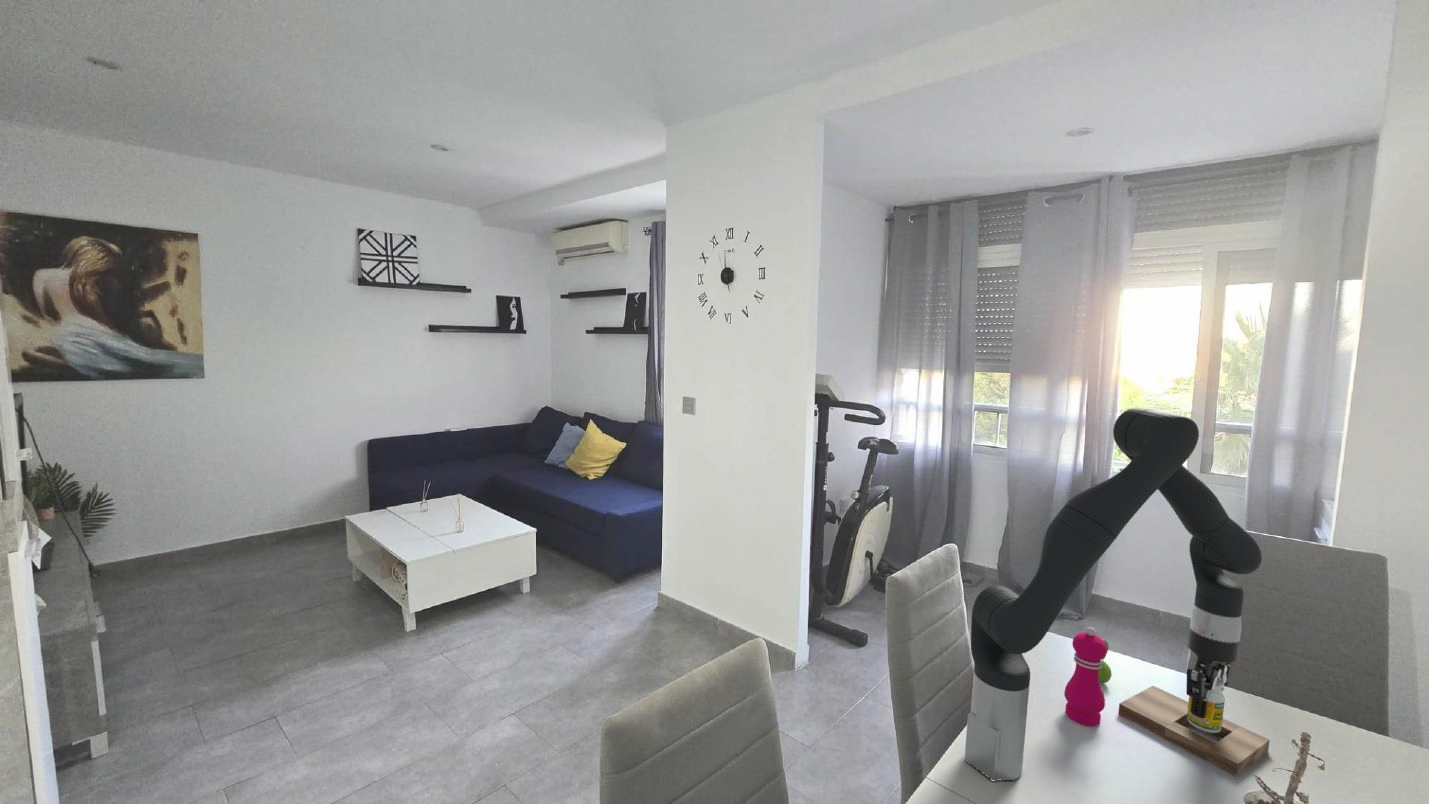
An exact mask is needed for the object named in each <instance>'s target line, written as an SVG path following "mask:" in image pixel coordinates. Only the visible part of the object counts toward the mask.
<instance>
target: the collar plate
mask: <svg viewBox="0 0 1429 804" xmlns="http://www.w3.org/2000/svg"><path fill="white" fill-rule="evenodd" d="M1188 703H1189V701H1187V700H1185V699H1183V698H1180V697H1178V696H1177V695H1174V694H1173V693H1170V692H1167V691H1165V690H1163V689H1161V688H1159V687H1157V686H1155V685H1152V686H1150V687H1147V688H1145V689H1144V690H1142V691H1140V692H1138V693H1137V694H1135V695H1133V696H1131V697H1129V698H1126V699H1125V700H1123V701H1122V702H1121V701H1120V703H1119V704H1118V715H1119V716H1121V717H1123V718H1124V719H1126V720H1128V721H1130V722H1132V723H1135V724H1136V725H1137V726H1140V727H1142V728H1143V729H1145V730H1148V731H1149V732H1150V733H1153V734H1155V735H1157V736H1158V737H1161V738H1162V739H1164V740H1166V741H1168V742H1170V743H1172V744H1173V745H1176V747H1179V748H1181V749H1183V750H1185V751H1187V752H1189V753H1191V754H1193V755H1195V756H1197V757H1199V758H1200V759H1202V760H1205V761H1206V762H1208V763H1210V764H1212V765H1213V766H1216V767H1218V768H1219V769H1222V770H1223V771H1225V772H1227V773H1228V774H1230V775H1232V776H1234V777H1238V776H1239V775H1240V774H1242V773H1243V772H1244V771H1245V770H1247V769H1248V768H1249V767H1251V766H1252V765H1253V764H1254V763H1255V762H1258V760H1259V759H1262V757H1264V755H1266V754H1267V753H1268V752H1269V747H1270V739H1269V738H1267V737H1264V736H1262V735H1260V734H1258V733H1256V732H1253V730H1249V729H1247V728H1246V727H1244V726H1241V725H1239V724H1236V723H1234V722H1232V721H1230V720H1228V719H1226V718H1224V717H1223V719H1222V727H1221V731H1220V732H1218V733H1210V732H1208V733H1210V734H1211V735H1213V736H1215V737H1217V738H1220V740H1218V741H1217V742H1216V741H1214V740H1212V739H1210V738H1208V737H1205V736H1204V735H1202V734H1199V733H1198V732H1196V731H1193V730H1192V729H1190V728H1188V727H1186V725H1188V724H1190V723H1189V721H1188V719H1187V712H1188Z"/></svg>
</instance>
